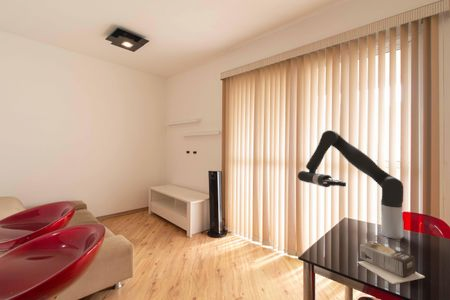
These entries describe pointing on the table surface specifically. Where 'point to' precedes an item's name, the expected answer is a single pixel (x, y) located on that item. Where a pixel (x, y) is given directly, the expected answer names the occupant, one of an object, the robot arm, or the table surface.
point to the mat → (389, 273)
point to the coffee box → (388, 258)
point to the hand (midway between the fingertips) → (344, 184)
